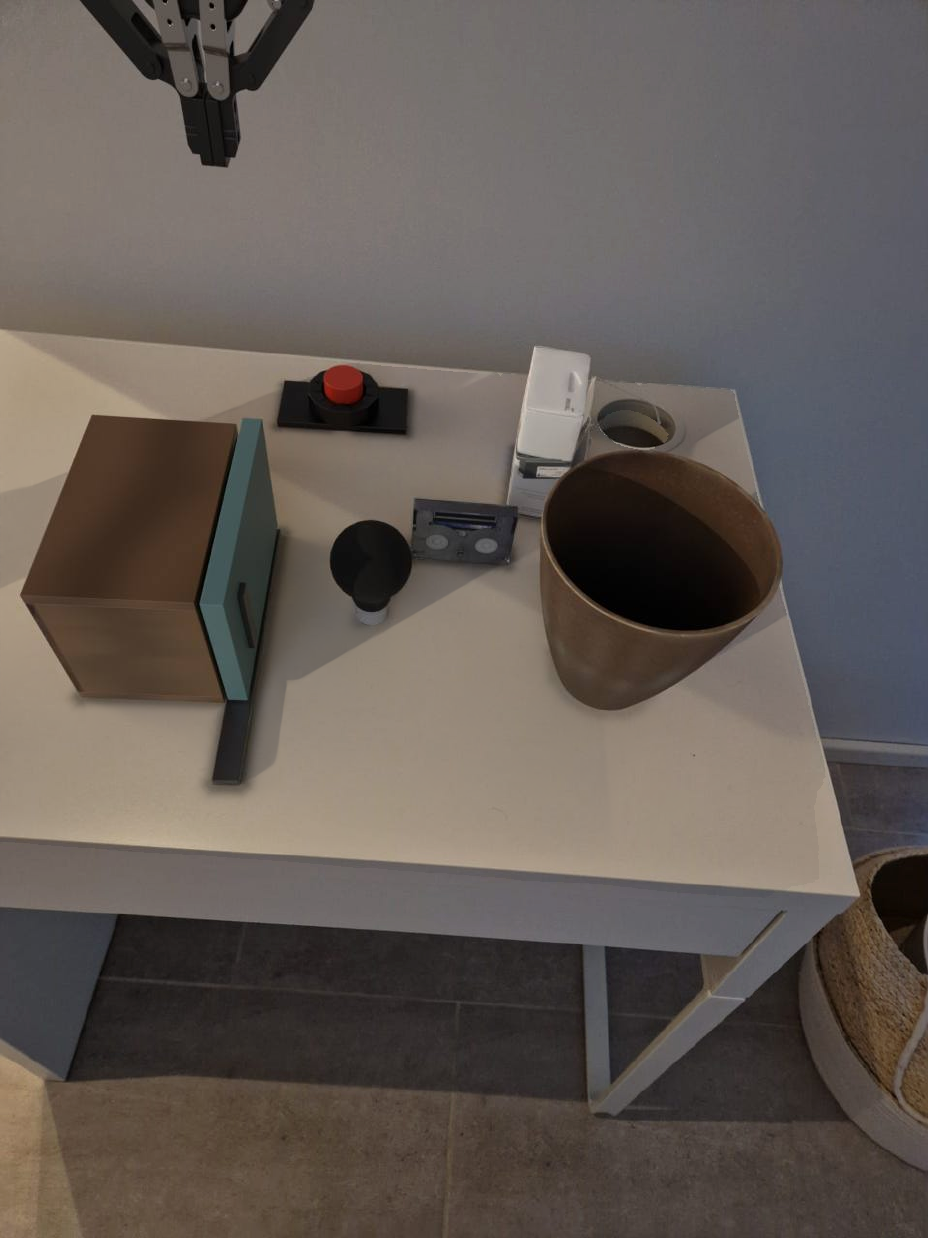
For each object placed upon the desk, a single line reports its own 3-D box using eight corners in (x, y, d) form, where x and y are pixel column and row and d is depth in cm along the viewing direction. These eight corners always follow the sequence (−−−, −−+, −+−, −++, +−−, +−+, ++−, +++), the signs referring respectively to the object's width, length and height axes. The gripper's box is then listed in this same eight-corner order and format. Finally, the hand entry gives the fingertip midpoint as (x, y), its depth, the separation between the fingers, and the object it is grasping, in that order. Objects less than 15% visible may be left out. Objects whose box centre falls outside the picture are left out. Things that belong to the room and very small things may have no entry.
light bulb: (338, 586, 64) (333, 499, 56) (411, 592, 64) (416, 506, 56) (329, 646, 60) (322, 563, 52) (406, 652, 61) (410, 570, 53)
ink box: (513, 448, 75) (533, 340, 66) (564, 457, 75) (592, 350, 66) (503, 512, 70) (523, 406, 61) (558, 522, 70) (587, 417, 61)
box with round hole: (577, 404, 80) (596, 364, 76) (654, 430, 81) (677, 392, 77) (563, 501, 72) (584, 462, 68) (649, 529, 73) (674, 492, 69)
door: (227, 699, 56) (199, 604, 47) (260, 524, 66) (242, 417, 56) (254, 700, 56) (230, 605, 47) (282, 526, 66) (268, 419, 57)
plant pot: (680, 788, 56) (771, 668, 43) (481, 719, 58) (511, 585, 45) (710, 628, 65) (793, 488, 52) (536, 572, 67) (575, 424, 54)
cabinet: (55, 781, 52) (-18, 688, 43) (134, 526, 65) (92, 411, 56) (239, 786, 53) (209, 696, 44) (281, 534, 66) (265, 422, 57)
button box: (277, 428, 74) (274, 407, 72) (285, 384, 78) (283, 362, 76) (405, 436, 75) (406, 416, 73) (408, 392, 79) (408, 371, 77)
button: (322, 403, 73) (321, 388, 72) (326, 378, 75) (325, 363, 74) (361, 406, 74) (361, 390, 72) (364, 381, 76) (364, 365, 74)
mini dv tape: (507, 552, 68) (518, 502, 63) (508, 565, 67) (518, 517, 62) (411, 544, 67) (414, 494, 62) (410, 558, 66) (413, 508, 61)
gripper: (-41, -284, 30) (86, 181, 44) (309, -233, 32) (325, 203, 46) (18, -310, 35) (116, 121, 49) (323, -264, 36) (334, 142, 50)
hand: (217, 160), depth 47 cm, fingers closed
